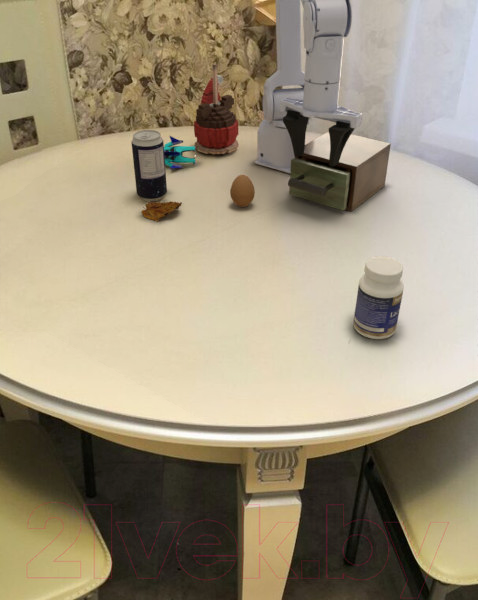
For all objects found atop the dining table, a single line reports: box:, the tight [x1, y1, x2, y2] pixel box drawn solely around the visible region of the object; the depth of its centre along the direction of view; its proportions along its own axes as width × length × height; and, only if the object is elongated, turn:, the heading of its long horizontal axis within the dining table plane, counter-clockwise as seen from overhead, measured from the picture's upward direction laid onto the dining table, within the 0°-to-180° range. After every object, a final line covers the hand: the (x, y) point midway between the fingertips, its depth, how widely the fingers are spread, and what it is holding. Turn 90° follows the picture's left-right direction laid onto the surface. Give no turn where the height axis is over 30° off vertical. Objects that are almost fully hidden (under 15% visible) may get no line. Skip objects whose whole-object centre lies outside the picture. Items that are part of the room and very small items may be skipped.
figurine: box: [164, 135, 197, 170], centre depth 127 cm, size 7×6×12 cm
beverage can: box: [130, 129, 168, 202], centre depth 113 cm, size 6×6×12 cm
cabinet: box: [295, 131, 392, 212], centre depth 116 cm, size 14×13×9 cm
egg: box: [229, 174, 256, 208], centre depth 112 cm, size 4×4×6 cm
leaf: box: [141, 201, 183, 222], centre depth 111 cm, size 6×7×2 cm
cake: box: [193, 63, 239, 155], centre depth 131 cm, size 11×9×18 cm
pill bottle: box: [352, 255, 404, 340], centre depth 80 cm, size 6×6×10 cm
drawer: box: [287, 157, 352, 211], centre depth 113 cm, size 17×11×7 cm
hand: (316, 159), depth 107 cm, fingers open, 6 cm apart
